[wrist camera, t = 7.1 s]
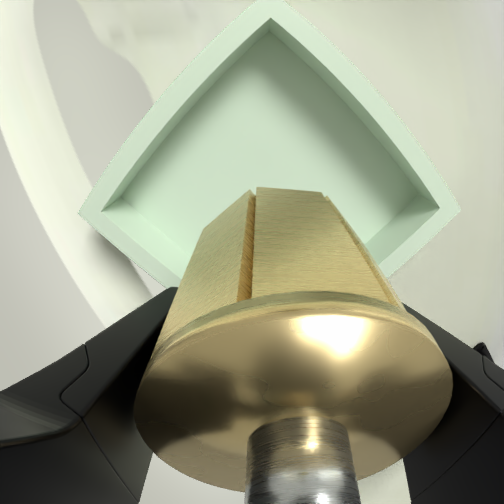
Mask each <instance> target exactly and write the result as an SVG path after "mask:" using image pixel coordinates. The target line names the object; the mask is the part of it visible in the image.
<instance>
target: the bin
mask: <svg viewBox="0 0 504 504" xmlns="http://www.w3.org/2000/svg"><path fill="white" fill-rule="evenodd" d="M256 187H268V188H281V189H293V190H304V191H315V192H321V193H322V194H323V196H324V197H325V196H328V197H329V198H330V200H331V201H332V202H333V204H334V205H335V206H336V207H337V209H338V210H339V211H340V213H341V214H342V215H343V217H344V218H345V219H346V220H347V222H348V223H349V224H350V226H351V227H352V228H353V230H354V231H355V232H356V234H357V235H358V237H359V238H360V239H361V241H362V242H363V244H364V245H365V247H366V248H367V250H368V251H369V252H370V254H371V255H372V257H373V259H374V260H375V262H376V263H377V265H378V266H379V268H380V269H381V271H382V272H383V274H384V275H385V277H386V279H387V278H388V277H389V276H390V275H392V274H393V273H394V272H395V271H396V270H397V269H399V268H400V267H401V266H402V265H403V264H404V263H405V262H406V261H408V260H409V259H410V258H411V257H412V256H413V255H414V254H415V253H417V252H418V251H419V250H420V249H421V248H422V247H423V246H424V245H425V244H426V243H427V242H429V241H430V240H431V239H432V238H433V237H434V236H435V235H436V234H437V233H438V232H439V231H440V230H441V229H442V228H443V227H444V226H445V225H446V224H447V223H448V222H450V221H451V220H452V219H453V218H454V217H455V216H456V215H457V214H458V213H459V212H460V211H461V208H460V206H459V204H458V203H457V201H456V199H455V198H454V196H453V194H452V192H451V191H450V189H449V188H448V186H447V184H446V183H445V181H444V180H443V178H442V176H441V175H440V173H439V172H438V170H437V169H436V167H435V166H434V164H433V163H432V161H431V160H430V158H429V157H428V155H427V154H426V152H425V151H424V150H423V148H422V147H421V145H420V144H419V143H418V141H417V140H416V138H415V137H414V136H413V134H412V133H411V132H410V130H409V129H408V128H407V126H406V125H405V124H404V122H403V121H402V120H401V119H400V117H399V116H398V115H397V114H396V112H395V111H394V110H393V109H392V107H391V106H390V105H389V104H388V103H387V101H386V100H385V99H384V98H383V97H382V95H381V94H380V93H379V92H378V91H377V90H376V88H375V87H374V86H373V85H372V84H371V83H370V82H369V81H368V79H367V78H366V77H365V76H364V75H363V74H362V73H361V72H360V71H359V70H358V69H357V68H356V66H355V65H354V64H353V63H352V62H351V61H350V60H349V59H348V58H347V57H346V56H345V55H344V54H343V53H342V52H341V51H340V50H339V49H338V48H337V47H336V46H335V45H334V44H333V43H332V42H331V41H330V40H329V39H327V38H326V37H325V36H324V35H323V34H322V33H321V32H320V31H319V30H318V29H317V28H316V27H314V26H313V25H312V24H311V23H310V22H309V21H308V20H306V19H305V18H304V17H303V16H302V15H301V14H299V13H298V12H297V11H296V10H295V9H294V8H292V7H291V6H290V5H289V4H287V3H286V2H285V1H284V0H256V1H255V2H254V3H253V4H252V5H250V6H249V7H248V8H247V9H246V10H245V11H243V12H242V13H241V14H240V15H239V16H238V17H237V18H236V19H235V20H233V21H232V22H231V23H230V24H229V25H228V26H227V27H226V28H225V29H224V30H223V31H222V32H221V33H220V34H218V35H217V36H216V37H215V38H214V39H213V40H212V41H211V42H210V43H209V44H208V45H207V46H206V47H205V48H204V49H203V50H202V51H201V52H200V53H199V54H198V55H197V57H196V58H195V59H194V60H193V61H192V62H191V63H190V64H189V65H188V66H187V67H186V68H185V69H184V70H183V71H182V73H181V74H180V75H179V76H178V77H177V78H176V79H175V80H174V81H173V83H172V84H171V85H170V86H169V87H168V88H167V89H166V91H165V92H164V93H163V94H162V95H161V97H160V98H159V99H158V100H157V101H156V103H155V104H154V105H153V106H152V107H151V109H150V110H149V111H148V112H147V114H146V115H145V116H144V118H143V119H142V120H141V121H140V122H139V124H138V125H137V126H136V128H135V129H134V130H133V132H132V133H131V134H130V136H129V137H128V138H127V140H126V141H125V142H124V144H123V145H122V147H121V148H120V149H119V151H118V152H117V154H116V155H115V156H114V158H113V159H112V161H111V162H110V163H109V165H108V166H107V168H106V169H105V171H104V172H103V174H102V175H101V177H100V178H99V180H98V181H97V183H96V185H95V186H94V188H93V189H92V191H91V192H90V194H89V196H88V197H87V199H86V200H85V202H84V204H83V205H82V207H81V209H80V210H79V212H78V214H79V215H80V216H81V217H82V218H83V219H84V220H85V221H87V222H88V223H89V224H90V225H91V226H92V227H93V228H94V229H96V230H97V231H98V232H99V233H100V234H101V235H102V236H104V237H105V238H106V239H107V240H108V241H109V242H111V243H112V244H113V245H114V246H115V247H116V248H118V249H119V250H120V251H121V252H122V253H123V254H125V255H126V256H127V257H128V258H129V259H131V260H132V261H133V262H134V263H135V264H137V265H138V266H139V267H140V268H142V269H143V270H144V271H145V272H146V273H148V274H149V275H150V276H152V277H153V278H154V279H155V280H156V281H158V282H159V283H160V284H162V285H163V286H164V287H165V288H167V289H168V288H169V287H179V285H180V282H181V280H182V278H183V275H184V273H185V270H186V268H187V266H188V263H189V261H190V258H191V256H192V254H193V251H194V249H195V247H196V244H197V242H198V240H199V237H200V235H201V233H202V231H203V229H204V228H205V227H206V226H207V225H208V224H209V223H211V222H212V221H213V220H214V219H215V218H216V217H218V216H219V215H220V214H221V213H222V212H223V211H224V210H226V209H227V208H228V207H229V206H230V205H231V204H233V203H234V202H235V201H236V200H237V199H238V198H240V197H241V196H242V195H243V194H244V193H245V192H247V191H248V190H249V189H250V190H251V191H252V192H253V193H254V194H255V195H256Z"/></svg>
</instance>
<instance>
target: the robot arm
mask: <svg viewBox="0 0 504 504" xmlns="http://www.w3.org/2000/svg"><path fill="white" fill-rule="evenodd" d="M177 290H178V287H169V288H168V289H166V290H164V291H163V292H161V293H160V294H158V295H157V296H155V297H154V298H152V299H151V300H149V301H148V302H146V303H145V304H143V305H141V306H140V307H138V308H137V309H135V310H134V311H132V312H131V313H129V314H128V315H126V316H125V317H123V318H122V319H120V320H119V321H117V322H116V323H114V324H113V325H111V326H109V327H108V328H106V329H105V330H104V331H102V332H100V333H99V334H98V335H96V336H94V337H93V338H91V339H90V340H88V341H87V342H86V343H85V344H82V345H81V346H79V347H78V348H76V349H75V350H73V351H72V352H70V353H68V354H67V355H65V356H64V357H62V358H61V359H59V360H58V361H56V362H54V363H52V364H51V365H49V366H47V367H45V368H43V369H42V370H40V371H38V372H36V373H34V374H33V375H31V376H29V377H27V378H25V379H23V380H21V381H19V382H18V383H16V384H14V385H12V386H10V387H8V388H7V389H4V390H2V391H0V504H138V503H139V501H140V497H141V493H142V490H143V486H144V482H145V479H146V475H147V472H148V468H149V464H150V461H151V458H152V454H153V451H152V450H151V449H150V448H149V447H148V446H147V444H146V443H145V442H144V440H143V439H142V437H141V435H140V433H139V432H138V430H137V427H136V423H135V420H134V402H135V398H136V394H137V391H138V388H139V385H140V383H141V380H142V377H143V374H144V372H145V369H146V367H147V365H148V363H149V361H150V359H151V356H152V354H153V351H154V348H155V346H156V343H157V341H158V338H159V335H160V333H161V330H162V328H163V325H164V322H165V320H166V317H167V315H168V312H169V310H170V307H171V305H172V302H173V300H174V297H175V295H176V292H177ZM401 303H402V302H401ZM402 304H403V306H404V308H405V309H406V311H407V312H408V313H410V314H411V315H413V316H414V317H415V318H416V319H418V320H419V321H420V322H421V323H422V324H423V325H424V326H425V327H426V328H427V329H428V331H429V332H430V333H431V335H432V336H433V338H434V339H435V341H436V343H437V344H438V346H439V348H440V349H441V351H442V353H443V355H444V356H445V358H446V360H447V362H448V364H449V367H450V370H451V372H452V380H453V388H452V396H451V399H450V403H449V406H448V408H447V410H446V412H445V414H444V416H443V418H442V419H441V421H440V422H439V424H438V425H437V427H436V428H435V429H434V430H433V432H432V433H431V434H430V435H429V436H428V437H427V438H426V439H425V440H424V441H423V442H422V443H421V444H420V445H419V446H418V447H417V448H415V449H414V450H413V451H412V452H410V453H409V454H408V455H406V456H405V457H403V462H404V467H405V472H406V477H407V482H408V487H409V493H410V499H411V504H504V370H503V369H502V368H500V367H499V366H497V365H496V364H495V363H494V361H493V359H492V357H491V355H490V353H489V351H488V349H487V347H486V345H485V344H484V343H483V342H482V343H480V344H479V345H477V346H476V347H475V348H474V349H472V348H471V347H469V346H468V345H466V344H465V343H463V342H462V341H460V340H459V339H457V338H456V337H454V336H453V335H451V334H450V333H448V332H447V331H445V330H444V329H442V328H441V327H439V326H438V325H436V324H435V323H433V322H432V321H430V320H429V319H427V318H425V317H424V316H422V315H421V314H419V313H418V312H416V311H415V310H413V309H412V308H410V307H408V306H407V305H405V304H404V303H402Z"/></svg>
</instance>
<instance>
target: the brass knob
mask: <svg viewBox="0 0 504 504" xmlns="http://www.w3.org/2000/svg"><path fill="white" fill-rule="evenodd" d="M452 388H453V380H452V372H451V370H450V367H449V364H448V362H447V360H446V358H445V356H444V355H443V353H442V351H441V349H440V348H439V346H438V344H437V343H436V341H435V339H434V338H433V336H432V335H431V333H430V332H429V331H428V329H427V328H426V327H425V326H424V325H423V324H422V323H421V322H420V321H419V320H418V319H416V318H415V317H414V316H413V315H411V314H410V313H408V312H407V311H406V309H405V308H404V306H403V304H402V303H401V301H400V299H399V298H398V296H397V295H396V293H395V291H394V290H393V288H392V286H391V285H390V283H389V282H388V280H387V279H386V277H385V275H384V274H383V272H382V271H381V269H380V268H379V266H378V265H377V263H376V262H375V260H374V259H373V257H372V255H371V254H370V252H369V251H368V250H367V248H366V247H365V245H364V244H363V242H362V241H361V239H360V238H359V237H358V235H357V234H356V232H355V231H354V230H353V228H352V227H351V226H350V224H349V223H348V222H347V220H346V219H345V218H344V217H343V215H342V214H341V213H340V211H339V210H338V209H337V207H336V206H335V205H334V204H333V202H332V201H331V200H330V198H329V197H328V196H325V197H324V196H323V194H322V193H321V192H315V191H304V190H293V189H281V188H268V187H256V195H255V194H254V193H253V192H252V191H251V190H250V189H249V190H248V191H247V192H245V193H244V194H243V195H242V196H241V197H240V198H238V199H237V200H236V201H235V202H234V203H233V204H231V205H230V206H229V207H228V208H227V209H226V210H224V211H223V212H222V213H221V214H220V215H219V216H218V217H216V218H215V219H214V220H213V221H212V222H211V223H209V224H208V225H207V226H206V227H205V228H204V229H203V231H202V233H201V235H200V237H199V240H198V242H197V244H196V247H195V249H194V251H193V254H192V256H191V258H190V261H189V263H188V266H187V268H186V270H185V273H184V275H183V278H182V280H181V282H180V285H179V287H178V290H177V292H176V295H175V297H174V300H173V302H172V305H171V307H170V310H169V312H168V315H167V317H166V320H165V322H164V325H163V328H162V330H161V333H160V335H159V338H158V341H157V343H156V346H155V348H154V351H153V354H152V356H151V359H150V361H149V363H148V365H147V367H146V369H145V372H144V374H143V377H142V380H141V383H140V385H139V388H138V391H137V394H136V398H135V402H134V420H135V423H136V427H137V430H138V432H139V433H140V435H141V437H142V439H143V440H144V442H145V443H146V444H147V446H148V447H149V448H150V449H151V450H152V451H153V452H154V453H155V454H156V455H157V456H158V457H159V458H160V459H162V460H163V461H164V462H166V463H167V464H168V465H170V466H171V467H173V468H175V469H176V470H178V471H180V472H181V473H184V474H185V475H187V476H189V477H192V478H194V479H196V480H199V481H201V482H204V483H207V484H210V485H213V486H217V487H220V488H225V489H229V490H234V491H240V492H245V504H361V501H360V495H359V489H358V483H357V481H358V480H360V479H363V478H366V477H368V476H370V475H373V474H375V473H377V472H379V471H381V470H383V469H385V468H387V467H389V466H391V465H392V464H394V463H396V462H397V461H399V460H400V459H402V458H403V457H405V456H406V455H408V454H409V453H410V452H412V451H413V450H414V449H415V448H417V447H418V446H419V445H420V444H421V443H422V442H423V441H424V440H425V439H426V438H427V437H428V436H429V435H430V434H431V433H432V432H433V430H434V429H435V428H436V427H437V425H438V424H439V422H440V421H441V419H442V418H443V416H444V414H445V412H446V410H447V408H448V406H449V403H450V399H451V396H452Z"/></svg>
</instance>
